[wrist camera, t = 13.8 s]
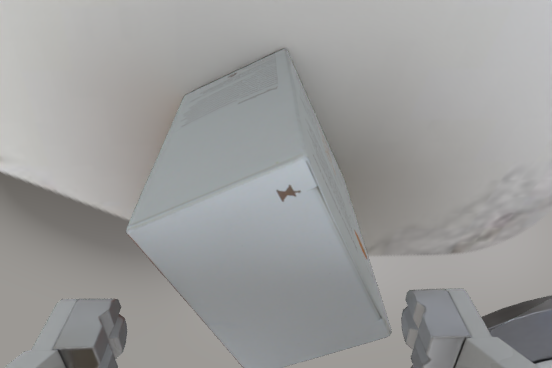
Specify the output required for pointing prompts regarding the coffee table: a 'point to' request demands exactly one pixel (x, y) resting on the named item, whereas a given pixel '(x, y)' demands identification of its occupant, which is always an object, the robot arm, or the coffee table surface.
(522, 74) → the coffee table surface
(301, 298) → the small box
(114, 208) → the coffee table surface
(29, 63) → the coffee table surface
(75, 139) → the coffee table surface
